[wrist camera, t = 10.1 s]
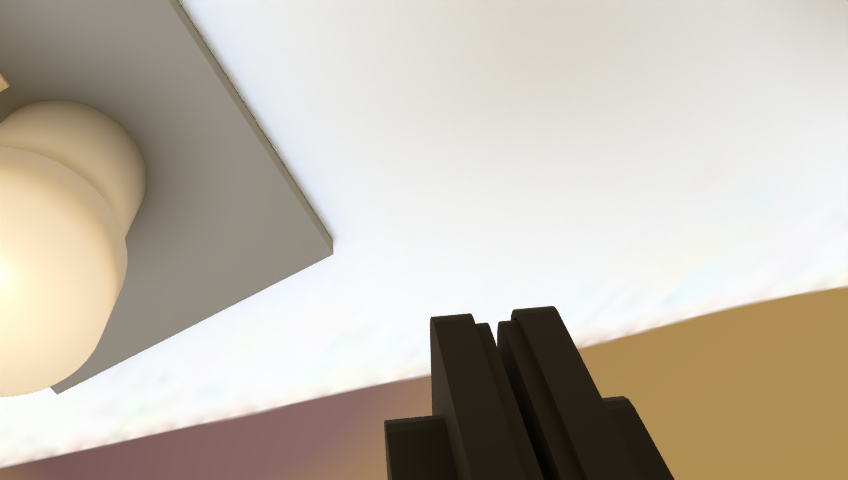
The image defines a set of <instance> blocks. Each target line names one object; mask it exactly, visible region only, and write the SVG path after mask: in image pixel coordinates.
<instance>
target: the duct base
mask: <svg viewBox="0 0 848 480" xmlns="http://www.w3.org/2000/svg"><path fill="white" fill-rule="evenodd" d="M0 146H3V147H12V148H17V149H22V150H27V151H30V152H33V153H37V154H40V155H43V156H45V157H47V158H50V159H52V160H54V161H57V162H59V163H60V164H62V165H64V166H66V167H67V168H69V169H71V170H73V171H74V172H75V173H77V174H78V175H79V176H81V177H82V178H84V179H85V180H86V181H87V182H88V183H89V184H90V185H92V186H93V187H94V188H95V189H96V190H97V191H98V192H99V194H100V195H101V196H102V197H103V198H104V199H105V200H106V202H107V203H108V205H109V206H110V208H111V209H112V211H113V212H114V214H115V216H116V218H117V220H118V222H119V224H120V226H121V229H122V232H123V234H124V237H125V242H126V248H127V270H126V276H125V280H124V283H123V286H122V289H121V291H120V293H119V296H118V298H117V300H116V303H115V305H114V307H113V310H112V312H111V314H110V317H109V319H108V321H107V324H106V326H105V328H104V331H103V333H102V335H101V338H100V340H99V342H98V344H97V346H96V348H95V350H94V351H93V353H92V354H91V355H90V357H89V358H88V360H87V361H86V362H85V363H84V364H83V365H82V366H81V367H80V368H79V369H78V370H76V371H75V372H74V373H72V374H71V375H70V376H69V377H67V378H65V379H64V380H62V381H60V382H58V383H57V384H55V385H52V386H50V387H51V389H52V390H53V391H54V392H55V393H56V394H59V393H61V392H63V391H65V390H67V389H69V388H71V387H73V386H75V385H77V384H79V383H81V382H83V381H85V380H87V379H89V378H91V377H93V376H95V375H97V374H99V373H101V372H102V371H104V370H106V369H108V368H110V367H112V366H114V365H116V364H118V363H120V362H122V361H124V360H126V359H128V358H130V357H132V356H134V355H136V354H138V353H140V352H142V351H144V350H146V349H148V348H150V347H152V346H154V345H156V344H158V343H159V342H161V341H163V340H165V339H167V338H169V337H171V336H173V335H175V334H177V333H179V332H181V331H183V330H185V329H187V328H189V327H191V326H193V325H195V324H197V323H199V322H201V321H203V320H205V319H207V318H209V317H211V316H213V315H214V314H216V313H218V312H220V311H222V310H224V309H226V308H228V307H230V306H232V305H234V304H236V303H238V302H240V301H242V300H244V299H246V298H248V297H250V296H252V295H254V294H256V293H258V292H260V291H262V290H264V289H266V288H268V287H269V286H271V285H273V284H275V283H277V282H279V281H281V280H283V279H285V278H287V277H289V276H291V275H293V274H295V273H297V272H299V271H301V270H303V269H305V268H307V267H309V266H311V265H313V264H315V263H317V262H319V261H321V260H323V259H325V258H326V257H328V256H330V255H332V254H333V240H332V239H331V237H330V236H329V234H328V233H327V231H326V229H325V228H324V226H323V225H322V223H321V222H320V220H319V219H318V217H317V215H316V214H315V212H314V211H313V209H312V208H311V206H310V205H309V203H308V202H307V200H306V198H305V197H304V195H303V194H302V192H301V191H300V189H299V188H298V186H297V185H296V183H295V181H294V180H293V178H292V177H291V175H290V174H289V172H288V171H287V169H286V167H285V166H284V164H283V163H282V161H281V160H280V158H279V157H278V155H277V154H276V152H275V150H274V149H273V147H272V146H271V144H270V143H269V141H268V140H267V138H266V137H265V135H264V133H263V132H262V130H261V129H260V127H259V126H258V124H257V123H256V121H255V119H254V118H253V116H252V115H251V113H250V112H249V110H248V109H247V107H246V106H245V104H244V102H243V101H242V99H241V98H240V96H239V95H238V93H237V92H236V90H235V89H234V87H233V85H232V84H231V82H230V81H229V79H228V78H227V76H226V75H225V73H224V71H223V70H222V68H221V67H220V65H219V64H218V62H217V61H216V59H215V58H214V56H213V54H212V53H211V51H210V50H209V48H208V47H207V45H206V44H205V42H204V41H203V39H202V37H201V36H200V34H199V33H198V31H197V30H196V28H195V27H194V25H193V23H192V22H191V20H190V19H189V17H188V16H187V14H186V13H185V11H184V10H183V8H182V6H181V5H180V3H179V2H178V0H0Z"/></svg>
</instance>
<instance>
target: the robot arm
mask: <svg viewBox="0 0 848 480" xmlns="http://www.w3.org/2000/svg"><path fill="white" fill-rule="evenodd" d="M430 345H431V378H432V379H431V380H432V416H424V417H415V418H404V419H395V420H385V422H384V427H385V445H386V460H387V474H388V480H674V478H673V476H672V474H671V473H670V471H669V469H668V467H667V465H666V464H665V462H664V460H663V458H662V456H661V455H660V453H659V451H658V449H657V447H656V446H655V444H654V442H653V440H652V438H651V437H650V435H649V433H648V431H647V430H646V428H645V426H644V424H643V422H642V420H641V419H640V417H639V415H638V413H637V412H636V410H635V408H634V406H633V405H632V404H631V402H630V401H629V399H627V398H625V397H624V396H619V397H610V398H602V397H601V396H600V394H599V392H598V390H597V388H596V386H595V384H594V382H593V380H592V378H591V376H590V374H589V372H588V370H587V368H586V366H585V364H584V363H583V360H582V358H581V356H580V354H579V352H578V350H577V348H576V346H575V344H574V342H573V340H572V338H571V336H570V334H569V332H568V331H567V329H566V327H565V325H564V323H563V321H562V319H561V317H560V315H559V313H558V311H557V309H556V308H555V307H553V306H548V307H536V308H525V309H514V310H513V311H512V315H511V321H500V322H499V323H498V331H497V346H496V343H495V340H494V337H493V334H492V332H491V329H490V326H489V324H488V323H478V324H475V321H474V318H473V316H472V314H459V315H448V316H437V317H431V319H430Z"/></svg>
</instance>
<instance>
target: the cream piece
mask: <svg viewBox="0 0 848 480" xmlns="http://www.w3.org/2000/svg"><path fill="white" fill-rule="evenodd" d="M126 270H127V248H126V242H125V237H124V234H123V232H122V229H121V226H120V224H119V222H118V220H117V218H116V216H115V214H114V212H113V211H112V209H111V208H110V206H109V205H108V203H107V202H106V200H105V199H104V198H103V197H102V196H101V195H100V194H99V192H98V191H97V190H96V189H95V188H94V187H93V186H92V185H90V184H89V183H88V182H87V181H86V180H85V179H84V178H82V177H81V176H79V175H78V174H77V173H75V172H74V171H73V170H71V169H69V168H67V167H66V166H64V165H62V164H60V163H59V162H57V161H54V160H52V159H50V158H47V157H45V156H43V155H40V154H37V153H33V152H30V151H27V150H22V149H17V148H12V147H3V146H0V397H10V396H18V395H24V394H29V393H32V392H36V391H39V390H43V389H45V388H47V387H50V386H52V385H55V384H57V383H58V382H60V381H62V380H64V379H65V378H67V377H69V376H70V375H71V374H72V373H74V372H75V371H76V370H78V369H79V368H80V367H81V366H82V365H83V364H84V363H85V362H86V361H87V360H88V358H89V357H90V355H91V354H92V353H93V351H94V350H95V348H96V346H97V344H98V342H99V340H100V338H101V335H102V333H103V331H104V328H105V326H106V324H107V321H108V319H109V317H110V314H111V312H112V310H113V307H114V305H115V303H116V300H117V298H118V296H119V293H120V291H121V289H122V286H123V283H124V280H125V276H126Z"/></svg>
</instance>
